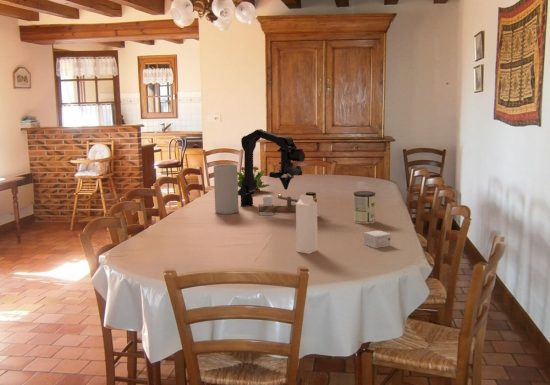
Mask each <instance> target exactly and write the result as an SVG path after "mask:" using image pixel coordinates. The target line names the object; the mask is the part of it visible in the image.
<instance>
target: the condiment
mask: <svg viewBox="0 0 550 385" xmlns="http://www.w3.org/2000/svg"><path fill="white" fill-rule="evenodd" d="M305 195H308V196H313V200H314V201H315V202H316V203H317V202H318V198H317V192H315V191H308V192H305ZM317 204H318V203H317ZM317 217H320V215H319V214H317Z"/></svg>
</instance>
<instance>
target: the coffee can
mask: <svg viewBox="0 0 550 385" xmlns="http://www.w3.org/2000/svg"><path fill="white" fill-rule="evenodd" d="M353 222H354V223H355V224H367V225H368V224H373V223H375V222H376V192H375V191H371V190H365V191H364V190H362V191H361V190H360V191H354V192H353Z"/></svg>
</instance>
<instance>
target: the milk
mask: <svg viewBox="0 0 550 385" xmlns="http://www.w3.org/2000/svg"><path fill="white" fill-rule="evenodd" d="M298 200H299V201H298V202H295V204H296V211H295V227H296V228H295V230H296V232H295V234H296V235H295V236H296V238H295V240H296V246H295V247H296V250H295V251H296V252H297V253H303V254H308V255H309V254H312V253H314V252H315V253H316V252H317V251H318V216H317V215H318V203H316V202H315V201H314V200H313V196H308V195H306V194H300V195H299V199H298Z"/></svg>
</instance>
